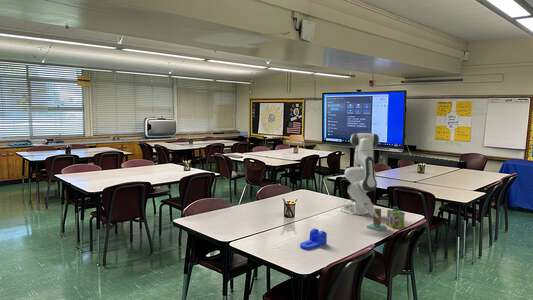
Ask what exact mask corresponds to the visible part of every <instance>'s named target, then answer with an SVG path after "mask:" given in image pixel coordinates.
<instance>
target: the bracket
mask: <svg viewBox="0 0 533 300" xmlns="http://www.w3.org/2000/svg"><path fill="white" fill-rule="evenodd" d="M327 236H328V234H327V232H326V231H325V230H319V229H318V228H311V230H310V232H309V238H308V240H305V241H302V242H300V243H299V246H300V247H299V248H300V249H302V250H306V251H307V250H308V251H311V250H314V249H316V248H317V249H318V248H319V247H322V246H325V245H327V243H328V242H327V241H328V237H327Z"/></svg>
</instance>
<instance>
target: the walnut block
mask: <svg viewBox="0 0 533 300" xmlns="http://www.w3.org/2000/svg"><path fill="white" fill-rule="evenodd" d="M374 209H375V212H376V214H377V215H378V216H379V217H378V218H376V217H375V216H374V215H373V216H372V224H373V225H382V209H381V208H377V207H376V208H375V207H374Z"/></svg>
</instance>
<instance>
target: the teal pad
mask: <svg viewBox="0 0 533 300" xmlns="http://www.w3.org/2000/svg"><path fill="white" fill-rule="evenodd" d="M366 228H367V229H370V230H374V231H377V232H381V231H382V230H384V229H387V225H383V224H381V225H373V223H371V224H368V225H366Z"/></svg>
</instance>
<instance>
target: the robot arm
mask: <svg viewBox="0 0 533 300" xmlns="http://www.w3.org/2000/svg"><path fill="white" fill-rule="evenodd" d="M349 141H350V144H351V145H352V146H353V147H355V151H354V161H355V163H357V164H358V165H360V167H358V166H356V167H355V166H351V167H347V168H346V169H345V170H344V174H343V175H344V177H345V179H346V180H348V181H349V183H350V184H349V185H348V186H347V190H346V191H347V193H348V194H349V200H348V201H346V202H345V203H344V204H343V207H342V208H340V212H343V213H346V214H350V215H354V216H355V215H357V216H358V215H359V216H360V215H361V216H363V215H367V214H369V215H370V216H371V217H373V215H374V216H375V217H376V218H378V217H379V216H378V215H377V214H376V212H375V209H374V208H375V206H374V204H373V202H372V201H371V199H370V197H369V196H368V195H367V193H370V192H374V191H375V190H376V189H377V187H378V182H377V179H376V171H375V162H374V148H375V147H377V146H378V145H379V142H380V138H379V135H378V134H376V133H369V132H359V133H358V132H354V133H352V134H351V136H350V138H349Z"/></svg>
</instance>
